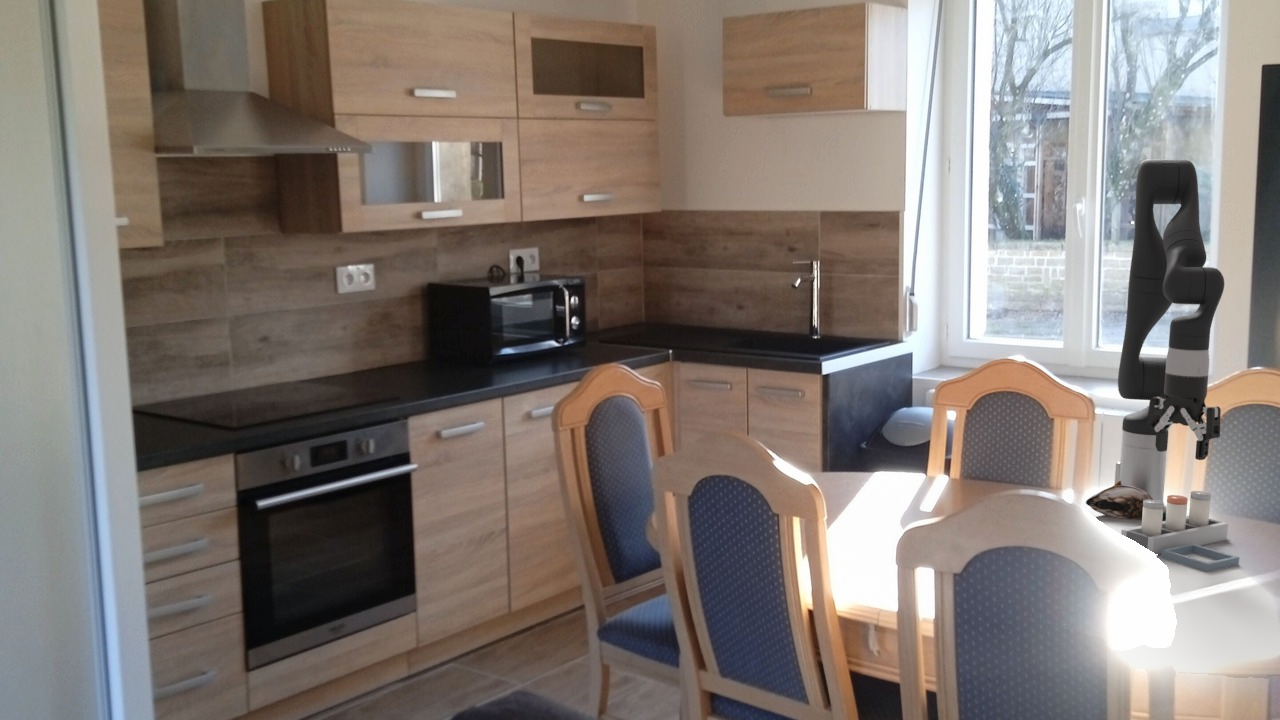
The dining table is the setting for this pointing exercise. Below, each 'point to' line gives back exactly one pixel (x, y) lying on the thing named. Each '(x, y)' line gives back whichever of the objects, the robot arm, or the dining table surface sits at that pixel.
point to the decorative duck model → (1120, 502)
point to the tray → (1220, 563)
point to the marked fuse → (1176, 513)
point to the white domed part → (1199, 508)
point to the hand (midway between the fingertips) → (1180, 455)
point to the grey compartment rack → (1180, 536)
